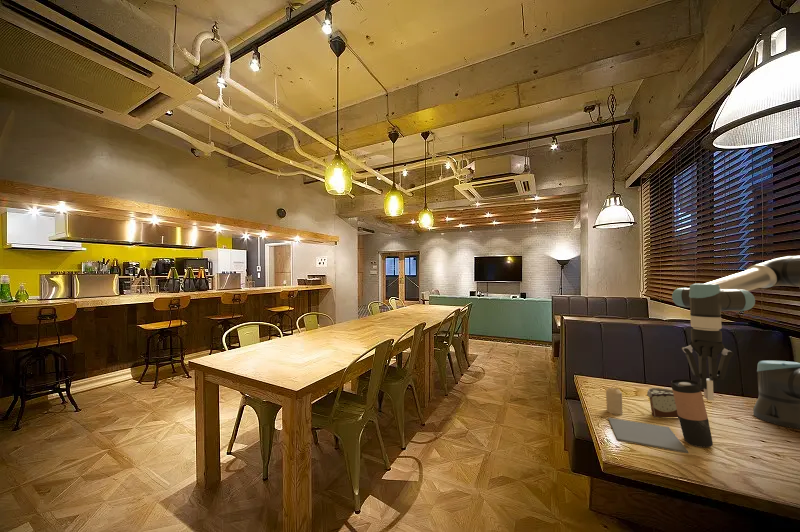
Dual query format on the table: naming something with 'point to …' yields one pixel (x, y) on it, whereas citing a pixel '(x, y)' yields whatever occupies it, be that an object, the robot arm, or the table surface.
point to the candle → (614, 400)
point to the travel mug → (692, 412)
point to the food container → (662, 402)
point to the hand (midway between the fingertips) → (708, 398)
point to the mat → (646, 434)
